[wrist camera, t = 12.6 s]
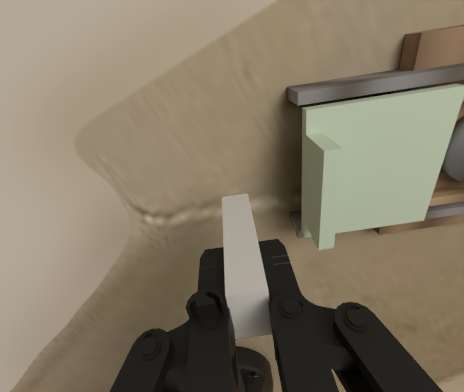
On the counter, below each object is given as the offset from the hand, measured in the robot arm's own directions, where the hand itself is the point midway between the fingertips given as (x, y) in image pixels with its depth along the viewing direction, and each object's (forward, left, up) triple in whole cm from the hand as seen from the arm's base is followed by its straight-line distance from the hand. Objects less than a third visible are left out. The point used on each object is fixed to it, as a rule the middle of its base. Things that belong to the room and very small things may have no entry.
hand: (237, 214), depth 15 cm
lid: (+10, 0, -4) cm, 10 cm away
